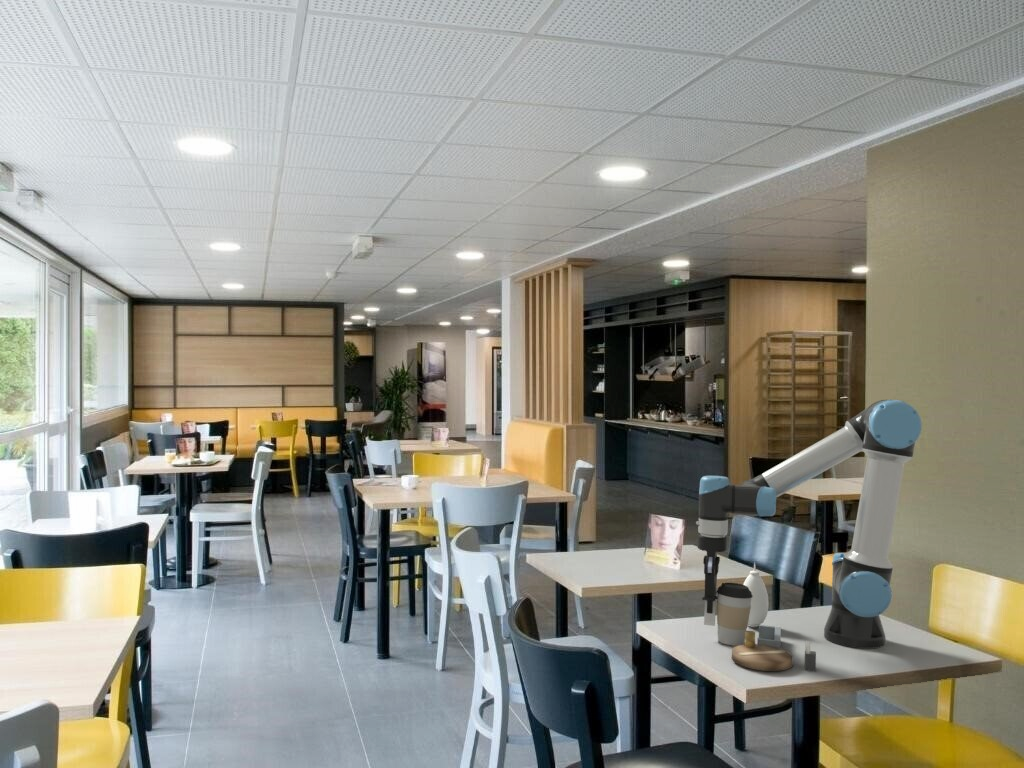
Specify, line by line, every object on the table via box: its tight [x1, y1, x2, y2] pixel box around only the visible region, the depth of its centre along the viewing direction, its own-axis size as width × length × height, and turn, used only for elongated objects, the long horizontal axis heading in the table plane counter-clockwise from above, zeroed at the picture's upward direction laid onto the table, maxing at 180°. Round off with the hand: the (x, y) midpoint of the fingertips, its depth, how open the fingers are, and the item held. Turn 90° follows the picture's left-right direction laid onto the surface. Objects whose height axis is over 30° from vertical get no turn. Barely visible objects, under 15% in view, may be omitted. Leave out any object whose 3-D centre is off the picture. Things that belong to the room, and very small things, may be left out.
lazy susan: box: [731, 630, 793, 672], centre depth 202 cm, size 14×14×5 cm
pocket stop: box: [757, 624, 782, 649], centre depth 216 cm, size 6×14×4 cm, turn 162°
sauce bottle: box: [742, 562, 769, 628], centre depth 234 cm, size 8×8×18 cm
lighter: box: [804, 640, 817, 672], centre depth 198 cm, size 2×3×7 cm
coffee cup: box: [716, 582, 753, 647], centre depth 219 cm, size 9×9×15 cm
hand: (709, 624), depth 220 cm, fingers closed
